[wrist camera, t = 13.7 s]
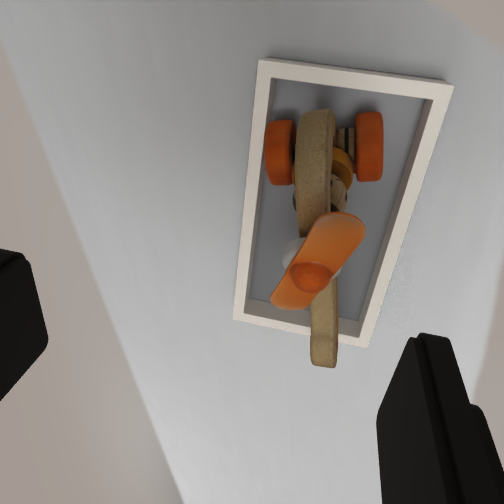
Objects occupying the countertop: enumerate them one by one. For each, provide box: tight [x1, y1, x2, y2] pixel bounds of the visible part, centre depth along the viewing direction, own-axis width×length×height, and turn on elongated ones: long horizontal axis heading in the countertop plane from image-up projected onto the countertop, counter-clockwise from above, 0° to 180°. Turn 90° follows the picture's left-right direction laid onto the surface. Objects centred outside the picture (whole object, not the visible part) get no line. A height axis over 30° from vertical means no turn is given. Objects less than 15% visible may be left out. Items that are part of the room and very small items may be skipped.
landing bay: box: [233, 57, 455, 348], centre depth 34 cm, size 23×13×4 cm, turn 174°
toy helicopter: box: [264, 109, 384, 368], centre depth 29 cm, size 8×21×14 cm, turn 6°
